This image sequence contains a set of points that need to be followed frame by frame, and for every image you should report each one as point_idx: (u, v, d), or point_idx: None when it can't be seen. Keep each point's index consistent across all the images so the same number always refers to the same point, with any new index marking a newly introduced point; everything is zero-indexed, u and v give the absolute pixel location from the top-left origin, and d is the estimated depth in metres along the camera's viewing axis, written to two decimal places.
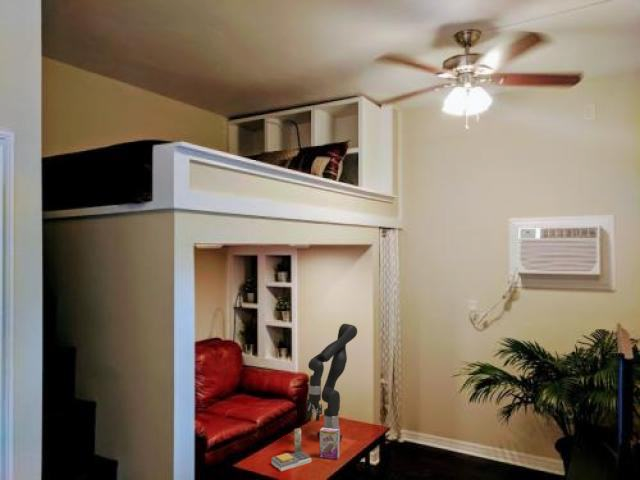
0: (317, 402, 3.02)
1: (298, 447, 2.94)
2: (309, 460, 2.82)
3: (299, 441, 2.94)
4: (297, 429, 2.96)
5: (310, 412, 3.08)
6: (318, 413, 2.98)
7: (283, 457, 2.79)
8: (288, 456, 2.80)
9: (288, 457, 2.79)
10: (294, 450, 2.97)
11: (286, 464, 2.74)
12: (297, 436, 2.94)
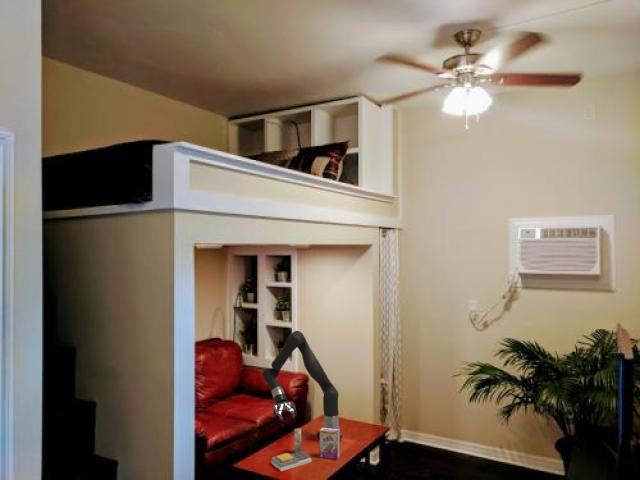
0: (276, 404, 3.10)
1: (298, 447, 2.94)
2: (309, 460, 2.82)
3: (299, 441, 2.94)
4: (297, 429, 2.96)
5: (291, 413, 3.09)
6: None
7: (283, 457, 2.79)
8: (288, 456, 2.80)
9: (288, 457, 2.79)
10: (294, 450, 2.97)
11: (286, 464, 2.74)
12: (297, 436, 2.94)
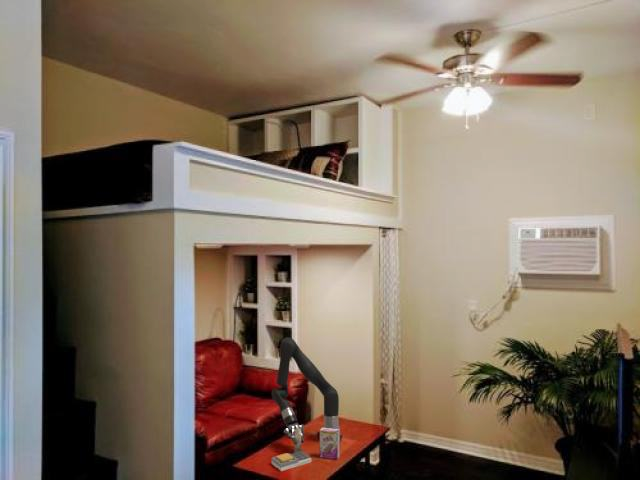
0: (286, 426, 2.99)
1: (298, 447, 2.94)
2: (309, 460, 2.82)
3: (299, 441, 2.94)
4: (297, 429, 2.96)
5: None
6: (288, 437, 2.95)
7: (283, 457, 2.79)
8: (288, 456, 2.80)
9: (288, 457, 2.79)
10: (294, 450, 2.97)
11: (286, 464, 2.74)
12: (297, 436, 2.94)
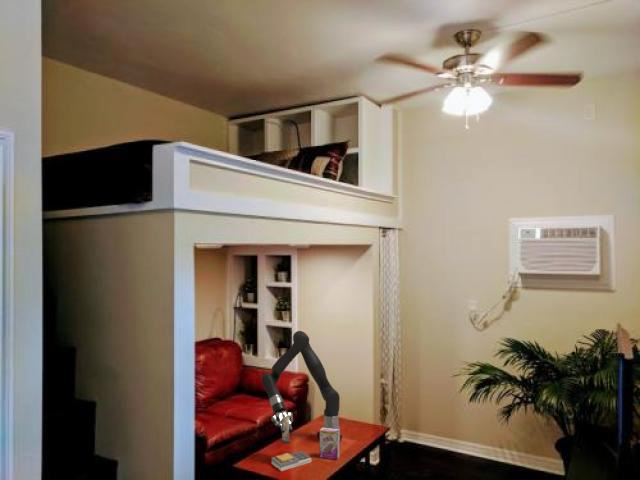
0: (274, 413, 2.87)
1: (286, 435, 2.81)
2: (309, 460, 2.82)
3: (286, 429, 2.81)
4: (285, 417, 2.83)
5: None
6: (276, 425, 2.83)
7: (283, 457, 2.79)
8: (288, 456, 2.80)
9: (288, 457, 2.79)
10: (282, 439, 2.84)
11: (286, 464, 2.74)
12: (285, 424, 2.81)
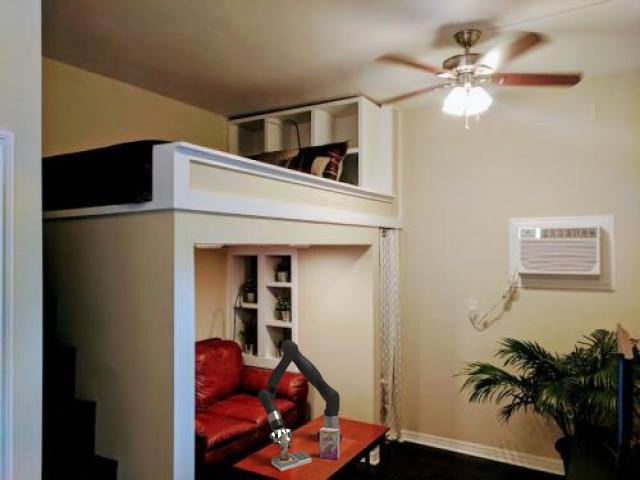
0: (273, 430, 2.83)
1: (284, 453, 2.78)
2: (309, 460, 2.82)
3: (285, 446, 2.78)
4: (284, 434, 2.80)
5: None
6: None
7: None
8: None
9: None
10: (280, 456, 2.81)
11: (286, 464, 2.74)
12: (283, 441, 2.78)
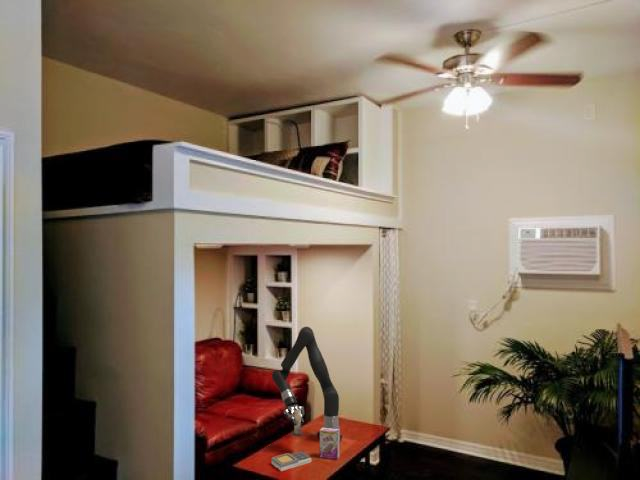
0: (286, 407, 2.99)
1: (298, 428, 2.94)
2: (309, 460, 2.82)
3: (298, 422, 2.94)
4: (297, 410, 2.96)
5: None
6: None
7: (283, 459, 2.79)
8: (288, 458, 2.80)
9: (288, 459, 2.79)
10: (294, 431, 2.97)
11: (286, 464, 2.74)
12: (297, 417, 2.94)
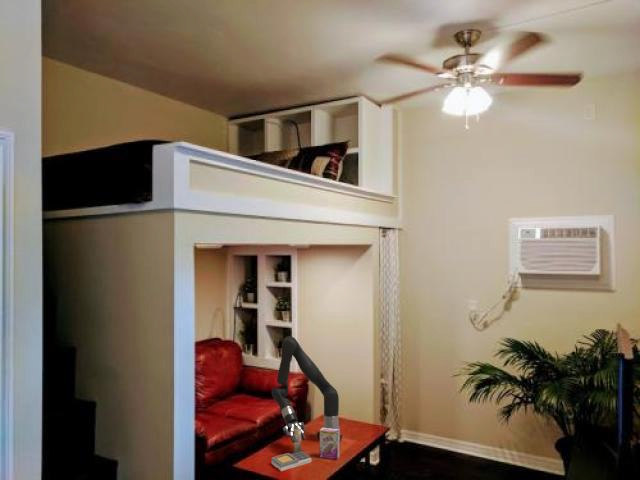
0: (286, 424, 2.99)
1: (298, 447, 2.94)
2: (309, 460, 2.82)
3: (298, 441, 2.94)
4: (297, 429, 2.96)
5: (301, 435, 2.98)
6: (286, 435, 2.95)
7: (283, 459, 2.79)
8: (288, 458, 2.80)
9: (288, 459, 2.79)
10: (294, 450, 2.97)
11: (286, 464, 2.74)
12: (297, 436, 2.94)
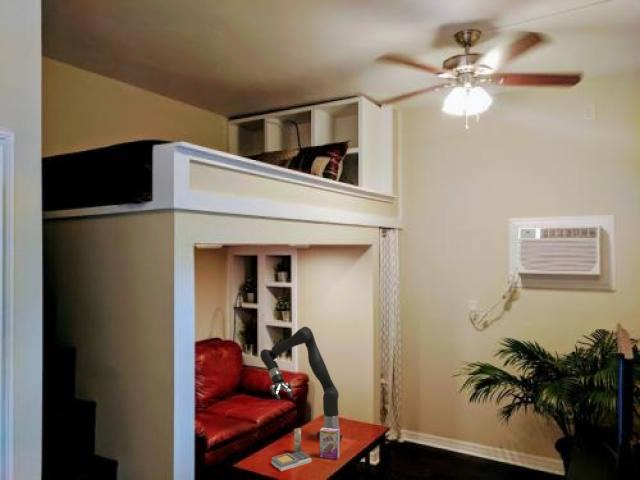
0: (273, 384, 3.13)
1: (298, 447, 2.94)
2: (309, 460, 2.82)
3: (298, 441, 2.94)
4: (297, 429, 2.96)
5: (289, 393, 3.12)
6: (272, 394, 3.08)
7: (283, 459, 2.79)
8: (288, 458, 2.80)
9: (288, 459, 2.79)
10: (294, 450, 2.97)
11: (286, 464, 2.74)
12: (297, 436, 2.94)
